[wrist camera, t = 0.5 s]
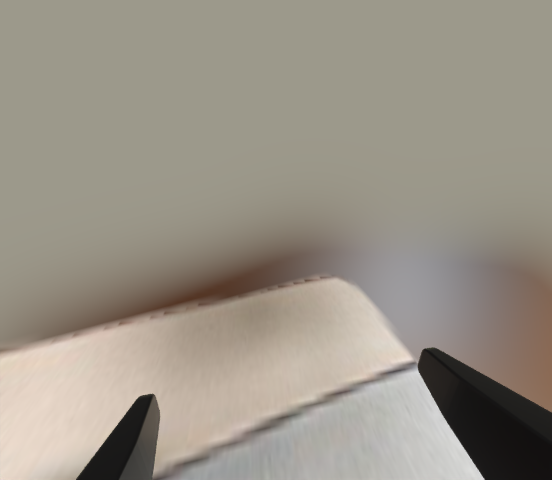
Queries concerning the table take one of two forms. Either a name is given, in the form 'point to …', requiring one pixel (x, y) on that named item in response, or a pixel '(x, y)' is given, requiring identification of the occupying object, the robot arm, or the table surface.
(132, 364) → the table surface
